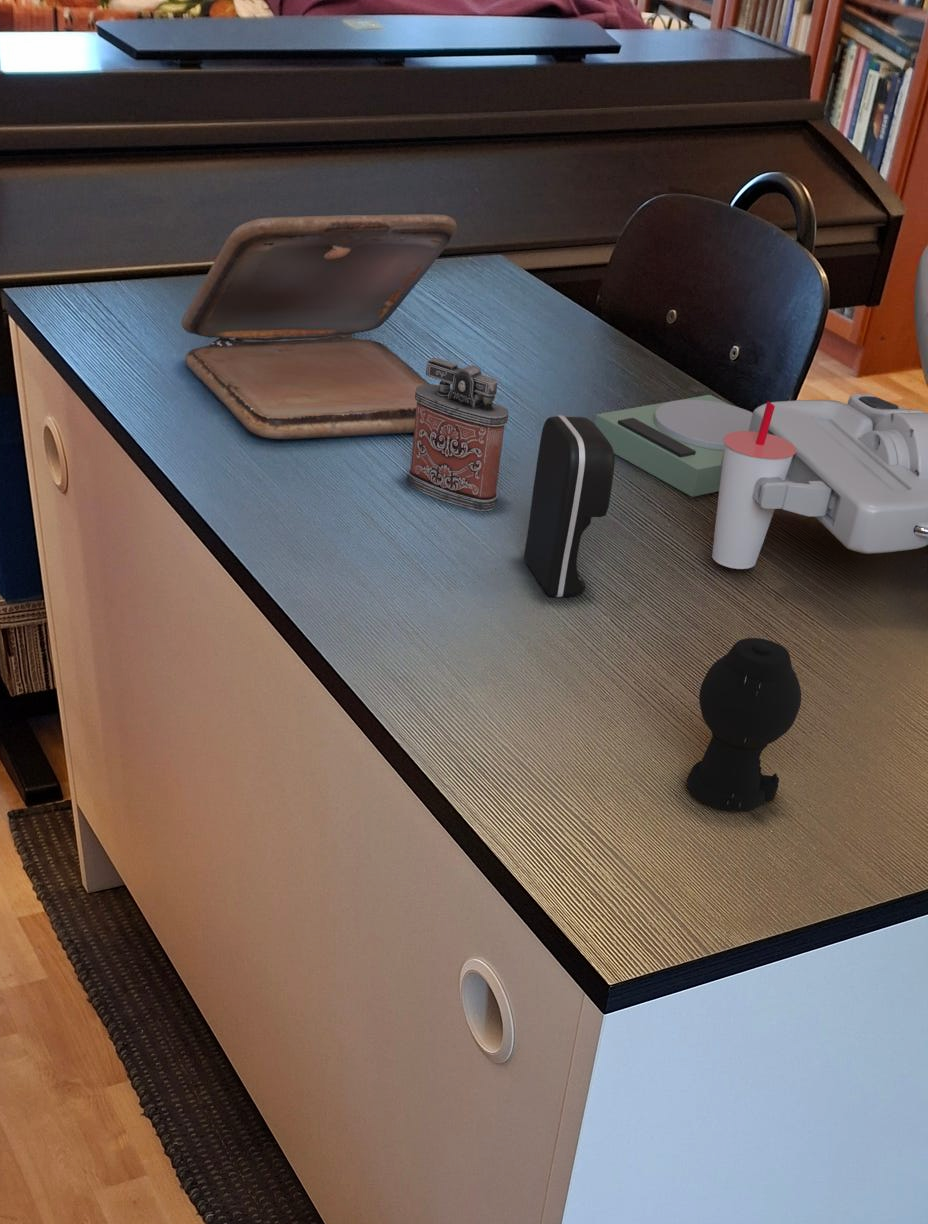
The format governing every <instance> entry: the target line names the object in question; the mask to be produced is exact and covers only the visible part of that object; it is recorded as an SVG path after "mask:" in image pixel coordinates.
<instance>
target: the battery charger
mask: <svg viewBox="0 0 928 1224" xmlns="http://www.w3.org/2000/svg"><path fill="white" fill-rule="evenodd" d="M615 461H616V458H615V454H614V451H613V448H612V446H611V444H610V443H609V441H608V440H607V439H606V437H605V436H604V435H603V433H602V432H601V431H600V430H599V429H598V427H597V426H596V425H595V422H593V421H592V420H591V419H589V418H587V417H583V416H565V415H563V414H557V415H554V416H549V417H548V418H546V420H545V422H544V423H543V426H542V430H541V435H540V441H539V447H538V453H537V460H536V467H535V475H534V481H533V487H532V488H533V490H532V496H531V505H530V513H529V521H528V527H527V533H526V541H525V545H524V546H525V547H524V553H523V554H524V555H523V559H524V560H525V562H526V564H527V565H528V567H529V569H530V570H531V571H532V573H533V575H534V577H535V578H536V580H537V581H538V583H539V584H540V586H541V587H542V588H543V590H544V591H545V592H546V595H548V596H550V597H555V598H563V597H571V596H579V595H581V594H583V593H584V592H585V589H586V583H585V581H584V579H583V577H582V576H581V575H580V573H579V572H578V569H577V562H578V553H579V549H580V544H581V539H582V535H583V533H584V532H585V531H586V529H587V528H588V527H589V526H591V522H592V518H602V517H605V516H607V514H608V510H609V507H610V501H611V495H612V487H613V480H614V472H615V463H616V462H615Z"/></svg>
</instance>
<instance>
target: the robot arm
mask: <svg viewBox="0 0 928 1224" xmlns="http://www.w3.org/2000/svg"><path fill="white" fill-rule="evenodd" d="M913 295H914V298H913V301H914V302H913V307H914V308H913V310H914V311H913V313H914V317H913V318H914V328H915V336H916V343H917V349H918V354H919V359H920V364H921V370H922V374H923V378H924V381H925V384H926V387H927V388H928V244H927V245H926V246H925V248H924V250H923V252H922V253H921V255H920V258H919V260H918V264H917V268H916V273H915V282H914V294H913ZM769 402H770V401H769ZM770 403H771V404H773V405H774V406H775V408H774V411H773V415H772V418H771V422H770V425H769V429H768V433H767V434H771V435H775V436H778V437H780V438H783V439H785V440H787V441H789V442H790V443H791V444H793V445H794V446H795V448H796V453H795V454H794V455H793V457H792V460H791V463H790V466H789V469H788V471H787V475H786V478H785V481H783V480H782V479H781V478H780V477H773V478H760V479H759V480H758V481H757V482H756V486H755V487H756V490H755V492H754V495H753V497H754V499H755V500H756V501H757V502H758V503H759V505H760V506H761V507H762V508H764V509H775V510H783V511H786V512H790V513H794V514H797V515H801V516H805V517H811V518H812V517H813V518H815V519H816V520H817V521H819V523H820V524H821V525H823V527H824V528H825V529H827V530H828V532H830V534H831V535H833V536H834V537H835V539H837V540H838V541H839V542H840V544H842V545H843V546H844V547H845V548H846V549H847V550H849V551H853V552H857V553H860V554H866V555H869V554H870V555H872V554H885V553H895V552H905V551H911V550H912V551H913V550H918V549H920V548H924V547H926V546H928V412H925V411H924V410H922V409H912V408H906V407H902V406H899V405H897V404H895V403H892V402H890V401H887V400H885V399H882V398H880V397H878V396H875V395H873V394H868V393H854V394H851V395H849V398H848V401H847V403H846V402H842V401H840V400H833V399H798V400H797V399H796V400H783V401H771V402H770ZM766 405H767V402H765V403H764V404H761V405H759V406H757V407H756V408H755V409H754V410H753V412H752V413H753V414H752V418H751V422H750V426H749V431H755V432H759V430H760V426H761V423H762V419H763V415H764V412H765V408H766ZM723 454H724V451H723ZM722 463H723V456H722V461H721V465H722Z"/></svg>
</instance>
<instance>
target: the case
mask: <svg viewBox="0 0 928 1224" xmlns="http://www.w3.org/2000/svg"><path fill="white" fill-rule="evenodd" d="M457 230H458V225H457V222H456V220H455V219H454V218H453V217H452V216H449V215H446V214H432V213H431V214H427V213H423V214H420V213H419V214H414V213H413V214H380V215H379V214H370V215H369V214H352V215H351V214H342V215H340V214H338V215H311V216H310V215H305V216H276V217H273V216H271V217H263V218H261V217H260V218H256V219H252V220H249V221H247V222H244V223H242V224H240V225H238V226H237V227H235V229H234V230H233V231H232V232H231V233H230V234H229V236H228V237H227V239H226V241H225V243H224V244H223V246H222V248H221V249H220V251H219V253H218V255H217V256H216V258H215V260H214V262H213V264H212V265H211V267H210V269H209V271H208V272H207V274H206V276H205V278H204V279H203V282H202V283H201V285H200V286H199V288H198V289H197V292H196V294H195V295H194V296H193V299H192V300H191V302H190V304H189V306H188V307H187V308H186V311H185V312H184V314H183V316H182V318H181V327H182V329H183V330H184V331H185V332H187V333H189V334H192V335H197V336H200V337H204V338H209V339H210V338H216V340H214V341H212V342H211V343H210V344H209V345H205V346H202V347H200V346H199V347H196V348H192V349H190V350H189V351H187V353H186V354H185V356H184V362H185V364H186V366H187V367H188V369H190V371H192V373H193V374H194V375H195V376H196V377H197V378H198V379H199V380H200V381H202V383H203V384H204V385H205V386H207V388H208V389H209V390H211V392H212V393H213V394H214V395H215V396H216V397H217V399H219V401H221V402H222V404H223V405H224V406H225V407H226V408H227V409H228V410H229V411H230V412H231V414H232V415H233V416H234V417H235V418H236V419H237V420H238V422H240V424H242V425H243V426H244V427H245V429H246V430H247V431H249V432H250V433H252V434H254V435H256V436H258V437H261V438H264V439H270V440H271V439H272V440H301V439H319V438H320V439H321V438H336V437H337V438H339V437H355V436H374V435H390V434H392V435H395V434H414V427H415V417H416V406H417V401H416V400H415V392H416V387H418V386H420V385H425V384H430V382H428V381H427V380H426V379H425V378H423V377H422V376H421V375H420V374H419V373H418V372H417V371H416V370H415V369H414V368H413V367H411V365H409V364H408V363H407V362H406V361H404V360H403V359H402V358H401V357H400V356H399V355H398V354H397V353H395V352H393V350H391V349H390V348H389V347H388V346H387V345H385V344H383V343H381V342H379V341H376V340H371V339H364V338H363V339H362V338H354V337H352V336H351V335H353V334H357V333H366V332H370V331H373V330H376V329H378V328H380V327H381V326H382V325H383V324H385V323H386V322H387V321H388V320H389V319H390V318H391V316H392V315H394V312H396V310H397V309H398V308H399V307H400V306H401V304H402V303H403V302H404V300H405V299H406V298H407V297H408V295H409V294H410V293H411V292H412V291H413V289H414V288H415V287H416V285H418V283H419V282H420V281H421V279H422V278H423V277H424V276H425V274H426V273H427V272H428V271H429V269H430V268H431V267H432V266H433V264H434V263H435V262H436V260H437V259H438V258H439V257H440V256H441V254H442V253H443V251H444V250H445V249H446V247H447V246H448V245H449V243H450V242H451V241H452V240H453V238H454V237H455V236H456V233H457V232H458V231H457Z"/></svg>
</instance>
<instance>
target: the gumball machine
mask: <svg viewBox="0 0 928 1224" xmlns="http://www.w3.org/2000/svg"><path fill="white" fill-rule="evenodd" d="M765 630H766V627H764V628H763V635H764V634H765ZM698 700H699V701H698V702H699V707H700V712H701V717H702V720H703V722H704V723H705V725H706V726H707V728H708V729H709V730H710V731H711V738H710V741H709V743H708V745H707V747H706V750H705V752H704V754H703V756H702V759H701V760H699V761H698V762H696V763H695V764H694V765H693V766H692V767H691V770H690V772H689V774H688V776H687V778H686V786H687V789H688V790H689V792H690V793H691V794H692V795H693V797H695V798H697V799H698V800H699V801H700V802H702V803H705V804H707V805H709V806H711V807H714V808H718V809H721V810H725V811H732V812H733V811H734V812H741V811H743V812H744V811H751V810H754V809H757V808H759V807H760V806H762V805H763V803H764V802H766V803H768V802H773V801H775V798H776V795H777V792H778V789H779V782H780V777H779V776H778V775H777V773H773V774H772V775H769V774H763V773H762V767H761V762H762V761H761V759H760V758H761V756H762V755H761V754H762V753H763V751H764V750H765V749H766V748H767V747H768V745H770V744H772V743H775V742H776V741H777V740H779V739H780V738H781V737H783V736H784V735H785V734H786V733H787V732H788V731H790V729H791V728H792V726H793V725H794V723H795V721H796V719H797V717H798V714H799V711H800V709H801V705H802V688H801V685H800V682H799V678H798V676H797V672H796V671H795V670H794V668H793V665H792V659H791V655H790V652H789V651H788V650H787V648H785V647H784V646H783V645H781V644H780V643H777V642H776V641H773V640H769V639H768V635H766V636H765V638H761V637H760V638H758V637H747V638H743V639H742V638H741V639H739V640H738V641H736V642H735V643H734V644H733V645H732V647H731V648H730V649H729V651H728V652H727V653H726V654H724V655H723V656H722V657H720V658H719V659H716V661H715V662H713V664H712V665H711V666H710V667H709V669H708V670H707V671H706V674H705V675H704V678H703V680H702V682H701V686H700V688H699V694H698ZM764 814H765V811H764V810H763V811H762V819H763V818H764Z"/></svg>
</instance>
